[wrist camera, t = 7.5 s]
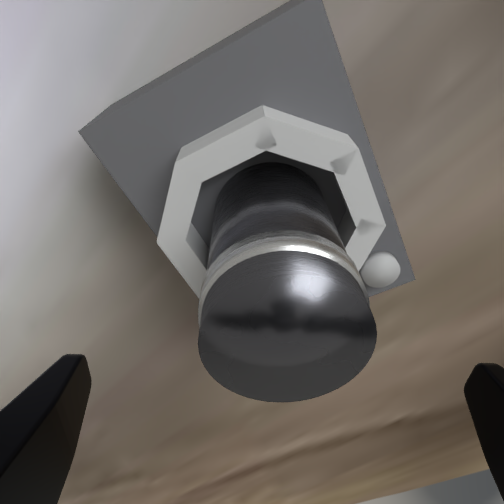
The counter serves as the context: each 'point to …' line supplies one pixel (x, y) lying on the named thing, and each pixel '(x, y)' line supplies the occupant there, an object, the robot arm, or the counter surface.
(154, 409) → the counter surface
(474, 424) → the robot arm
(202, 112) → the camera body
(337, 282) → the lens
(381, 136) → the counter surface
